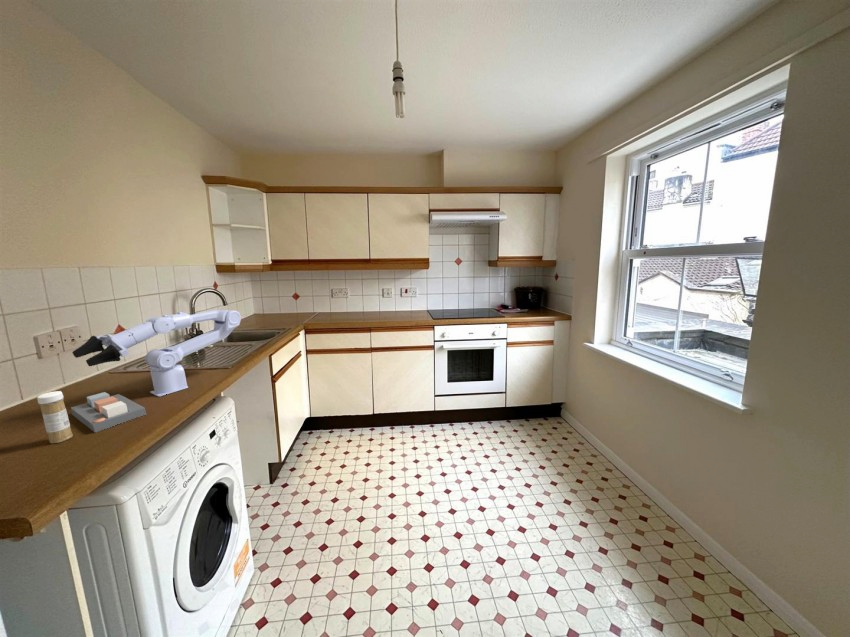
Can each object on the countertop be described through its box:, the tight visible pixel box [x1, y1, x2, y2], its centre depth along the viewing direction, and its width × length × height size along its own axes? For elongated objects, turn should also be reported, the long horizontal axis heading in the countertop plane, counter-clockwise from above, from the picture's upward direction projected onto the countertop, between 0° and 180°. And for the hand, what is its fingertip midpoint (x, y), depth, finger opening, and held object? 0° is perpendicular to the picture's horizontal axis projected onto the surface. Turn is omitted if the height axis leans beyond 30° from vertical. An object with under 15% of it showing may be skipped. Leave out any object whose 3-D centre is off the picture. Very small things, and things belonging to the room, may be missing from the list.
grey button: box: [86, 391, 111, 408], centre depth 109 cm, size 4×4×3 cm
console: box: [70, 393, 147, 433], centre depth 106 cm, size 12×23×3 cm, turn 58°
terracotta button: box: [94, 395, 118, 413], centre depth 105 cm, size 4×4×3 cm
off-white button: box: [102, 401, 128, 418], centre depth 101 cm, size 4×4×3 cm
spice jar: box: [36, 390, 74, 444], centre depth 91 cm, size 5×5×14 cm
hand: (80, 359), depth 103 cm, fingers open, 7 cm apart
